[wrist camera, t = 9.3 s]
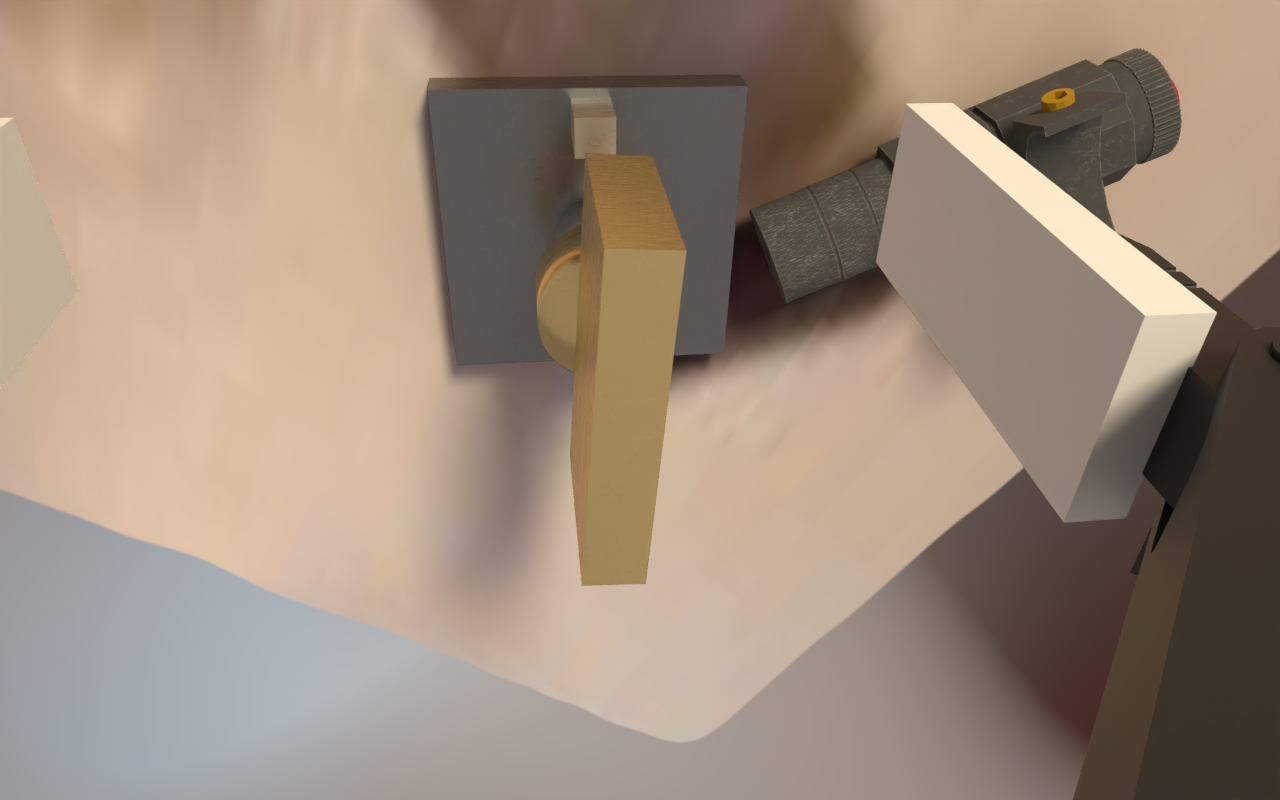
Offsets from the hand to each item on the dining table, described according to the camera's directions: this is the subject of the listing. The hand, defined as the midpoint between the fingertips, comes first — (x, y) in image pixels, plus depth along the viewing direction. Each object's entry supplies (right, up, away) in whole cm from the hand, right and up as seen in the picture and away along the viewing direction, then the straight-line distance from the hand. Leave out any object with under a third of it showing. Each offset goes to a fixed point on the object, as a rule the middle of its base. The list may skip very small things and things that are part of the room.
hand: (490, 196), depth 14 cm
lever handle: (0, +3, +32) cm, 32 cm away
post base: (-1, +7, +38) cm, 38 cm away
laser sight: (+19, +11, +38) cm, 44 cm away
